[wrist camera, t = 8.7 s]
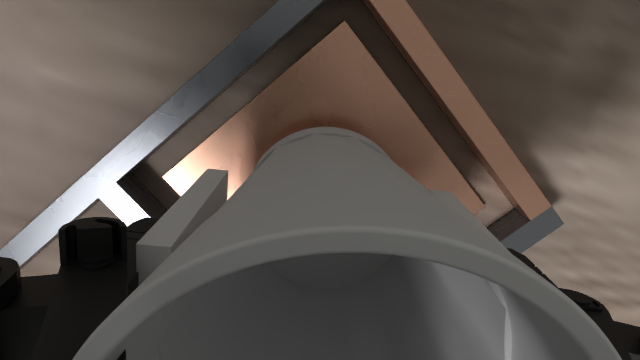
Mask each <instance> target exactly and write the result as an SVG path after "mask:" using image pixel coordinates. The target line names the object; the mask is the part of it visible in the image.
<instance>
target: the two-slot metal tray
mask: <svg viewBox="0 0 640 360" xmlns="http://www.w3.org/2000/svg"><path fill="white" fill-rule="evenodd" d="M327 1H328V0H279V1H278V2H277V3H276V4H274V5H273V6H272V7H271V8H270V9H269V10H268V11H267V12H265V13H264V14H263V15H262V16H261V17H260V18H259V19H258V20H257V21H255V22H254V23H253V24H252V25H251V26H250V27H249V28H248V29H247V30H245V31H244V32H243V33H242V34H241V35H240V36H239V37H238V38H236V39H235V40H234V41H233V42H232V43H231V44H230V45H229V46H228V47H226V48H225V49H224V50H223V51H222V52H221V53H220V54H219V55H218V56H216V57H215V58H214V59H213V60H212V61H211V62H210V63H209V64H207V65H206V66H205V67H204V68H203V69H202V70H201V71H200V72H199V73H197V74H196V75H195V76H194V77H193V78H192V79H191V80H190V81H189V82H187V83H186V84H185V85H184V86H183V87H182V88H181V89H180V90H178V91H177V92H176V93H175V94H174V95H173V96H172V97H171V98H170V99H168V100H167V101H166V102H165V103H164V104H163V105H162V106H161V107H160V108H158V109H157V110H156V111H155V112H154V113H153V114H152V115H151V116H149V117H148V118H147V119H146V120H145V121H144V122H143V123H142V124H141V125H139V126H138V127H137V128H136V129H135V130H134V131H133V132H132V133H131V134H129V135H128V136H127V137H126V138H125V139H124V140H123V141H122V142H120V143H119V144H118V145H117V146H116V147H115V148H114V149H113V150H112V151H110V152H109V153H108V154H107V155H106V156H105V157H104V158H103V159H102V160H100V161H99V162H98V163H97V164H96V165H95V166H94V167H93V168H91V169H90V170H89V171H88V172H87V173H86V174H85V175H84V176H83V177H81V178H80V179H79V180H78V181H77V182H76V183H75V184H74V185H73V186H71V187H70V188H69V189H68V190H67V191H66V192H65V193H64V194H62V195H61V196H60V197H59V198H58V199H57V200H56V201H55V202H54V203H52V204H51V205H50V206H49V207H48V208H47V209H46V210H45V211H44V212H42V213H41V214H40V215H39V216H38V217H37V218H36V219H35V220H33V221H32V222H31V223H30V224H29V225H28V226H27V227H26V228H25V229H23V230H22V231H21V232H20V233H19V234H18V235H17V236H16V237H15V238H13V239H12V240H11V241H10V242H9V243H8V244H7V245H6V246H4V247H3V248H2V249H1V250H0V257H7V258H11V259H13V260H16V261H17V262H18V264H19V267H20V269H21V268H23V267H24V266H25V265H26V264H27V263H28V262H29V261H31V260H32V259H33V258H34V257H35V256H36V255H37V254H39V253H40V252H41V251H42V250H43V249H44V248H45V247H47V246H48V245H49V244H50V243H51V242H52V241H53V240H55V239H56V238H57V237H58V236H59V234H58V230H59V229H60V228H61V227H62V225H64V224H67V223H69V222H71V221H75V220H77V219H79V218H80V217H81V216H82V215H83V214H84V213H85V212H87V211H88V210H89V209H90V208H91V207H92V206H93V205H95V204H96V203H97V202H98V201H99V200H101V201H102V202H103V203H104V204H105V205H106V206H107V207H108V208H110V209H111V210H112V211H113V212H114V213H115V214H116V215H117V216H118V217H119V218H120V219H121V220H122V221H123V222H124V223H125V224H126V225H127V226H129V225H130V224H131V223H133V222H135V221H138V220H140V219H142V218H145V217H150V218H161V217H162V216H163V215H164V214H165V213H166V212H167V211H168V210H167V209H166V208H165V207H164V206H163V205H162V204H161V203H160V202H159V201H158V200H157V199H156V198H155V197H154V196H153V195H152V194H151V193H150V192H149V191H148V190H147V189H146V188H145V187H144V186H143V185H142V184H141V182H140V181H139V180H138V179H137V178H136V177H135V176H134V175H133V174H132V173H131V172H132V171H133V170H135V169H136V168H137V167H138V166H139V165H140V164H141V163H143V162H144V161H145V160H146V159H147V158H148V157H149V156H151V155H152V154H153V153H154V152H155V151H156V150H157V149H159V148H160V147H161V146H162V145H163V144H164V143H165V142H167V141H168V140H169V139H170V138H171V137H172V136H173V135H175V134H176V133H177V132H178V131H179V130H180V129H181V128H183V127H184V126H185V125H186V124H187V123H188V122H189V121H191V120H192V119H193V118H194V117H195V116H196V115H197V114H199V113H200V112H201V111H202V110H203V109H204V108H205V107H207V106H208V105H209V104H210V103H211V102H212V101H213V100H215V99H216V98H217V97H218V96H219V95H220V94H221V93H223V92H224V91H225V90H226V89H227V88H228V87H229V86H231V85H232V84H233V83H234V82H235V81H236V80H237V79H239V78H240V77H241V76H242V75H243V74H244V73H245V72H247V71H248V70H249V69H250V68H251V67H252V66H253V65H255V64H256V63H257V62H258V61H259V60H260V59H261V58H263V57H264V56H265V55H266V54H267V53H268V52H269V51H271V50H272V49H273V48H274V47H275V46H276V45H277V44H279V43H280V42H281V41H282V40H283V39H284V38H285V37H287V36H288V35H289V34H290V33H291V32H292V31H293V30H295V29H296V28H297V27H298V26H299V25H300V24H301V23H303V22H304V21H305V20H306V19H307V18H308V17H309V16H311V15H312V14H313V13H314V12H315V11H316V10H317V9H319V8H320V7H321V6H322V5H323V4H324V3H325V2H327ZM362 1H363V2H364V4H365V5H366V7H367V8H368V9H369V11H370V12H371V13H372V15H373V16H374V17H375V19H376V20H377V22H378V23H379V24H380V26H381V27H382V28H383V30H384V31H385V32H386V34H387V35H388V36H389V38H390V39H391V41H392V42H393V43H394V45H395V46H396V47H397V49H398V50H399V51H400V53H401V54H402V56H403V57H404V58H405V60H406V61H407V62H408V64H409V65H410V66H411V68H412V69H413V71H414V72H415V73H416V75H417V76H418V77H419V79H420V80H421V81H422V83H423V84H424V85H425V87H426V88H427V90H428V91H429V92H430V94H431V95H432V96H433V98H434V99H435V100H436V102H437V103H438V105H439V106H440V107H441V109H442V110H443V111H444V113H445V114H446V115H447V117H448V118H449V119H450V121H451V122H452V124H453V125H454V126H455V128H456V129H457V130H458V132H459V133H460V134H461V136H462V137H463V139H464V140H465V141H466V143H467V144H468V145H469V147H470V148H471V149H472V151H473V152H474V154H475V155H476V156H477V158H478V159H479V160H480V162H481V163H482V164H483V166H484V167H485V168H486V170H487V171H488V173H489V174H490V175H491V177H492V178H493V179H494V181H495V182H496V183H497V185H498V186H499V188H500V189H501V190H502V192H503V193H504V194H505V196H506V197H507V198H508V200H509V201H510V203H511V204H512V205H513V207H514V208H515V209H513V210H512V211H510V212H509V213H508V214H506V215H505V216H503V217H502V218H500V219H499V220H498V221H496V222H495V223H493V224H492V225H491V226H489V227H488V228H487V229H488V230H489V231H490V232H491V233H492V234H493V235H494V236H495V237H496V238H497V239H498V240H499V241H500V242H501V243H502V244H503V246H504V247H505V248H512V249H513V250H515V251H517V252H519V253H520V254H521V253H522V252H523V251H525V250H526V249H528V248H529V247H531V246H532V245H534V244H535V243H537V242H538V241H540V240H541V239H542V238H544V237H545V236H547V235H548V234H550V233H551V232H553V231H554V230H556V229H557V228H559V227H560V226H561V225H563V224H564V223H563V222H562V220H561V219H560V217H559V216H558V214H557V213H556V212H555V210H554V209H553V207H552V206H551V205H550V203H549V202H548V200H547V199H546V198H545V196H544V195H543V193H542V192H541V190H540V189H539V188H538V186H537V185H536V183H535V182H534V181H533V179H532V178H531V176H530V175H529V174H528V172H527V171H526V169H525V168H524V166H523V165H522V164H521V162H520V161H519V159H518V158H517V157H516V155H515V154H514V152H513V151H512V150H511V148H510V147H509V145H508V144H507V142H506V141H505V140H504V138H503V137H502V135H501V134H500V133H499V131H498V130H497V128H496V127H495V126H494V124H493V123H492V121H491V120H490V118H489V117H488V116H487V114H486V113H485V111H484V110H483V109H482V107H481V106H480V104H479V103H478V102H477V100H476V99H475V97H474V96H473V94H472V93H471V92H470V90H469V89H468V87H467V86H466V85H465V83H464V82H463V80H462V79H461V78H460V76H459V75H458V73H457V72H456V70H455V69H454V68H453V66H452V65H451V63H450V62H449V61H448V59H447V58H446V56H445V55H444V54H443V52H442V51H441V49H440V48H439V46H438V45H437V44H436V42H435V41H434V39H433V38H432V37H431V35H430V34H429V32H428V31H427V30H426V28H425V27H424V25H423V24H422V22H421V21H420V20H419V18H418V17H417V15H416V14H415V13H414V11H413V10H412V8H411V7H410V6H409V4H408V3H407V1H406V0H362ZM314 127H337V128H343V129H347V130H351V131H354V132H356V133H359V134H361V135H363V136H365V137H367V138H368V139H370V140H371V141H373V142H374V143H376V144H377V145H378V146H379V147H380V148H382V149H383V150H384V151H385V153H386V154H387V155H388V156H389V157H390V159H391V160H392V161H393V162H395V163H396V164H397V165H398V166H399V167H401V168H402V169H403V170H404V171H406V172H407V173H408V174H409V175H411V176H412V177H413V178H414V179H415V180H417V181H418V182H419V183H420V184H422V185H423V186H424V187H425V188H427V189H428V190H429V191H430V189H432V190H442V191H450V192H451V193H452V194H453V195H454V196H455V197H456V198H457V199H458V200H459V201H460V202H461V203H462V204H463V205H464V206H465V207H466V208H467V209H468V210H469V211H470V212H471V213H472V214H473V215H475V214H476V213H478V212H479V211H481V210H482V209H483V208H485V206H484V204H483V203H482V202H481V200H480V199H479V198H478V196H477V195H476V194H475V193H474V191H473V190H472V189H471V187H470V186H469V185H468V183H467V182H466V181H465V179H464V178H463V177H462V175H461V174H460V173H459V171H458V170H457V169H456V167H455V166H454V165H453V163H452V162H451V161H450V159H449V158H448V157H447V155H446V154H445V153H444V151H443V150H442V149H441V147H440V146H439V145H438V143H437V142H436V141H435V139H434V138H433V137H432V136H431V134H430V133H429V132H428V130H427V129H426V128H425V126H424V125H423V124H422V122H421V121H420V120H419V118H418V117H417V116H416V114H415V113H414V112H413V110H412V109H411V108H410V106H409V105H408V104H407V102H406V101H405V100H404V98H403V97H402V96H401V94H400V93H399V92H398V90H397V89H396V88H395V86H394V85H393V84H392V82H391V81H390V80H389V79H388V77H387V76H386V75H385V73H384V72H383V71H382V69H381V68H380V67H379V65H378V64H377V63H376V61H375V60H374V59H373V57H372V56H371V55H370V53H369V52H368V51H367V49H366V48H365V47H364V45H363V44H362V43H361V41H360V40H359V39H358V37H357V36H356V35H355V33H354V32H353V31H352V29H351V28H350V27H349V25H348V24H347V23H346V22H345V21H344V22H342V23H341V24H340V25H339V26H338V27H337V28H335V29H334V30H333V31H332V32H331V33H330V34H328V35H327V36H326V37H325V38H324V39H323V40H321V41H320V42H319V43H318V44H317V45H316V46H314V47H313V48H312V49H311V50H310V51H309V52H307V53H306V54H305V55H304V56H303V57H302V58H300V59H299V60H298V61H297V62H296V63H295V64H293V65H292V66H291V67H290V68H289V69H288V70H286V71H285V72H284V73H283V74H282V75H281V76H279V77H278V78H277V79H276V80H275V81H274V82H272V83H271V84H270V85H269V86H268V87H267V88H265V89H264V90H263V91H262V92H261V93H260V94H258V95H257V96H256V97H255V98H254V99H253V100H251V101H250V102H249V103H248V104H247V105H246V106H244V107H243V108H242V109H241V110H240V111H239V112H237V113H236V114H235V115H234V116H233V117H232V118H230V119H229V120H228V121H227V122H226V123H225V124H223V125H222V126H221V127H220V128H219V129H218V130H216V131H215V132H214V133H213V134H212V135H211V136H209V137H208V138H207V139H206V140H205V141H204V142H202V143H201V144H200V145H199V146H198V147H197V148H195V149H194V150H193V151H192V152H191V153H190V154H188V155H187V156H186V157H185V158H184V159H183V160H181V161H180V162H179V163H178V164H177V165H176V166H174V167H173V168H172V169H171V170H170V171H169V172H167V173H166V174H165V175H164V176H163V178H164V179H165V180H166V181H167V182H168V183H169V184H170V186H171V187H172V188H173V189H174V190H175V191H176V192H177V193H178V194H179V195H180V196H182V195H183V194H184V193H185V192H186V191H187V190H188V189H189V188H190V186H191V185H192V184H193V183H194V182H195V181H196V180H197V179H198V178H199V177H200V176H201V175H202V174H203V173H204V172H205V171H206V170H207V169H218V170H228V192H227V200H228V199H229V198H230V197H231V196H232V195H233V194H234V192H235V191H236V190H237V189H238V188H239V187H240V186H241V185H242V184H243V183H244V181H245V180H246V179H247V178H248V177H249V176H250V175H251V173H252V172H253V170H254V168H255V166H256V164H257V163H258V161H259V160H260V159H261V157H262V156H263V155H264V154H265V153H266V152H267V150H269V149H270V148H271V147H272V146H273V145H274V144H275V143H277V142H278V141H280V140H281V139H283V138H285V137H286V136H288V135H290V134H293V133H295V132H298V131H301V130H304V129H309V128H314Z"/></svg>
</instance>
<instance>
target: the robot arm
mask: <svg viewBox="0 0 640 360" xmlns="http://www.w3.org/2000/svg"><path fill="white" fill-rule="evenodd" d="M227 192H228V170H218V169H207V170H206V171H205V172H204V173H203V174H202V175H201V176H200V177H199V178H198V179H197V180H196V181H195V182H194V183H193V184H192V185H191V186H190V188H189V189H188V190H187V191H186V192H185V193H184V194H183V195H182V196H181V197H180V198H179V199H178V200H177V201H176V202H175V203H174V204H173V205H172V207H171V208H170V209H169V210H168V211H167V212H166V213H165V214H164V215H163V216H162V217H161V218H150V217H145V218H142V219H140V220H138V221H135V222H133V223H131V224H130V225H129V226H128V227H127V226H126V224H125V223H124V222H123V221H121V220H119V219H114V218H109V217H92V218H83V219H79V220H75V221H71V222H69V223H67V224H64V225H62V227H61V228H60V229H59V230H58V234H59V249H60V263H61V266H60V269H59V272H58V274H53V275H43V276H30V277H20V267H19V264H18V262H17V261H16V260H13V259H11V258H7V257H0V360H73V358H74V356H75V355H76V354H77V352H78V351H79V349H80V348H81V347H82V345H83V344H84V343H85V341H86V340H87V339H88V338H89V337H90V335H91V334H92V333H93V332H94V331H95V330H96V328H97V327H98V326H99V325H100V324H101V323H102V322H103V321H104V320H105V319H106V318H107V317H108V316H109V315H110V314H111V313H112V312H113V311H114V310H115V309H116V308H117V307H118V306H119V305H120V304H121V303H122V302H123V301H124V300H125V299H126V298H127V297H128V296H129V295H130V294H131V293H132V292H133V291H134V290H135V289H136V288H137V287H138V286H139V285H140V284H141V283H142V282H143V281H144V280H145V279H146V278H147V277H148V276H149V275H150V274H151V273H152V272H153V271H154V270H155V269H156V268H157V267H159V266H160V265H161V264H162V263H163V262H164V261H165V260H166V259H167V258H168V257H169V256H170V255H171V254H172V253H173V252H174V251H175V250H176V249H177V248H178V247H179V246H180V245H181V244H182V243H183V242H184V241H185V240H186V239H187V238H188V237H189V236H190V235H191V234H192V233H193V232H194V231H195V230H196V229H197V228H198V227H199V226H200V225H201V224H202V223H203V222H205V221H206V220H207V219H208V218H209V217H211V216H212V215H213V214H215V213H216V212H217V211H218V210H219V209H220V208H221V207H222V206H223V204H224V203H225V202H226V201H227ZM430 192H431V193H433V194H434V195H435V196H436V197H438V198H439V199H440V200H441V201H442V202H444V203H445V204H446V205H447V206H449V207H450V208H452V209H453V210H454V211H456V212H457V213H459V214H460V215H461V216H463V217H464V218H465V219H466V220H468V221H469V222H470V223H472V224H473V225H474V226H476V227H477V228H478V229H480V230H481V231H482V232H484V233H485V234H486V235H488V236H489V237H490V238H492V239H493V240H494V241H495V242H497V243H498V244H499V245H501V246H502V247H503V248H505V247H504V246H503V244H502V243H501V242H500V241H499V240H498V239H497V238H496V237H495V236H494V235H493V234H492V233H491V232H490V231H489V230H488V229H487V228H486V227H485V226H484V225H483V224H482V223H481V222H480V221H479V220H478V219H477V218H476V217H475V216H474V215H473V214H472V213H471V212H470V211H469V210H468V209H467V208H466V207H465V206H464V205H463V204H462V203H461V202H460V201H459V200H458V199H457V198H456V197H455V196H454V195H453V194H452V193H451V192H450V191H442V190H432V189H430ZM505 249H506V250H507V251H509V252H510V253H511V254H513V255H514V256H515V257H517V258H518V259H519V260H521V261H522V262H523V263H524V264H526V265H527V266H528V267H530V268H531V269H532V270H534V271H535V272H536V273H538V274H539V275H540V276H542V277H543V278H544V279H546V280H547V281H548V282H550V283H551V284H552V285H553V286H555V287H556V288H557V289H559V290H560V291H561V292H563V293H564V294H565V295H566V296H568V297H569V298H570V299H571V300H572V301H573V302H575V303H576V304H577V305H578V306H579V307H580V308H581V309H582V310H583V311H584V312H585V313H586V314H587V315H588V316H589V317H590V318H591V319H592V320H593V321H594V322H595V323H596V324H597V325H598V327H599V328H600V329H601V330H602V332H603V333H604V334H605V335H606V337H607V338H608V339H609V341H610V342H611V343H612V345H613V346H614V348H615V349H616V351H617V352H618V354H619V355H620V357H621V359H622V360H640V327H637V326H633V325H629V324H625V323H621V322H617V321H613V320H612V318H611V315H610V313H609V311H608V310H607V309H606V308H605V306H604V305H602V304H601V303H600V302H599V301H597V300H595V299H593V298H591V297H589V296H587V295H585V294H582V293H579V292H577V291H573V290H568V289H562V288H558V287H557V286H556V285H555V284H554V283H553V282H552V281H551V280H550V279H549V278H548V277H547V276H546V275H545V274H542V272H541V271H540V270H539V269H538V268H537V267H535V265H534V264H533V263H532V262H531V261H530V260H529V259H528V258H527V257H526V256H524V255H522V254H520V253H519V252H517V251H515V250H513V249H512V248H505ZM117 360H126V349H125V350H124V351H123V353H122V354H121V355H120V356H119V358H118V359H117Z"/></svg>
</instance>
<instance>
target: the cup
mask: <svg viewBox="0 0 640 360" xmlns="http://www.w3.org/2000/svg"><path fill="white" fill-rule="evenodd" d="M125 349H126V360H622V359H621V357H620V355H619V354H618V352H617V351H616V349H615V348H614V346H613V345H612V343H611V342H610V341H609V339H608V338H607V337H606V335H605V334H604V333H603V332H602V330H601V329H600V328H599V327H598V325H597V324H596V323H595V322H594V321H593V320H592V319H591V318H590V317H589V316H588V315H587V314H586V313H585V312H584V311H583V310H582V309H581V308H580V307H579V306H578V305H577V304H576V303H575V302H573V301H572V300H571V299H570V298H569V297H568V296H566V295H565V294H564V293H563V292H561V291H560V290H559V289H557V288H556V287H555V286H553V285H552V284H551V283H550V282H548V281H547V280H546V279H544V278H543V277H542V276H540V275H539V274H538V273H536V272H535V271H534V270H532V269H531V268H530V267H528V266H527V265H526V264H524V263H523V262H522V261H521V260H519V259H518V258H517V257H515V256H514V255H513V254H511V253H510V252H509V251H507V250H506V249H505V248H503V247H502V246H501V245H499V244H498V243H497V242H495V241H494V240H493V239H492V238H490V237H489V236H488V235H486V234H485V233H484V232H482V231H481V230H480V229H478V228H477V227H476V226H474V225H473V224H472V223H470V222H469V221H468V220H466V219H465V218H464V217H463V216H461V215H460V214H459V213H457V212H456V211H454V210H453V209H452V208H450V207H449V206H447V205H446V204H445V203H444V202H442V201H441V200H440V199H439V198H438V197H436V196H435V195H434V194H433V193H431V192H430V191H429V190H428V189H427V188H425V187H424V186H423V185H422V184H420V183H419V182H418V181H417V180H415V179H414V178H413V177H412V176H411V175H409V174H408V173H407V172H406V171H404V170H403V169H402V168H401V167H399V166H398V165H397V164H396V163H395V162H393V161H392V160H391V159H390V157H389V156H388V155H387V154H386V153H385V151H384V150H383V149H382V148H380V147H379V146H378V145H377V144H376V143H374V142H373V141H371V140H370V139H368V138H367V137H365V136H363V135H361V134H359V133H356V132H354V131H351V130H347V129H343V128H337V127H314V128H309V129H304V130H301V131H298V132H295V133H293V134H290V135H288V136H286V137H285V138H283V139H281V140H280V141H278V142H277V143H275V144H274V145H273V146H272V147H271V148H270V149H269V150H267V152H266V153H265V154H264V155H263V156H262V157H261V159H260V160H259V161H258V163H257V164H256V166H255V168H254V170H253V172H252V173H251V175H250V176H249V177H248V178H247V179H246V180H245V181H244V183H243V184H242V185H241V186H240V187H239V188H238V189H237V190H236V191H235V192H234V194H233V195H232V196H231V197H230V198H229V199H228V200H227V201H226V202H225V203H224V204H223V206H222V207H221V208H220V209H219V210H218V211H217V212H216V213H215V214H213V215H212V216H211V217H209V218H208V219H207V220H206V221H205V222H203V223H202V224H201V225H200V226H199V227H198V228H197V229H196V230H195V231H194V232H193V233H192V234H191V235H190V236H189V237H188V238H187V239H186V240H185V241H184V242H183V243H182V244H181V245H180V246H179V247H178V248H177V249H176V250H175V251H174V252H173V253H172V254H171V255H170V256H169V257H168V258H167V259H166V260H165V261H164V262H163V263H162V264H161V265H160V266H159V267H157V268H156V269H155V270H154V271H153V272H152V273H151V274H150V275H149V276H148V277H147V278H146V279H145V280H144V281H143V282H142V283H141V284H140V285H139V286H138V287H137V288H136V289H135V290H134V291H133V292H132V293H131V294H130V295H129V296H128V297H127V298H126V299H125V300H124V301H123V302H122V303H121V304H120V305H119V306H118V307H117V308H116V309H115V310H114V311H113V312H112V313H111V314H110V315H109V316H108V317H107V318H106V319H105V320H104V321H103V322H102V323H101V324H100V325H99V326H98V327H97V328H96V330H95V331H94V332H93V333H92V334H91V335H90V337H89V338H88V339H87V340H86V341H85V343H84V344H83V345H82V347H81V348H80V349H79V351H78V352H77V354H76V355H75V356H74V358H73V360H117V359H118V358H119V356H120V355H121V354H122V353H123V351H124V350H125Z"/></svg>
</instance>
